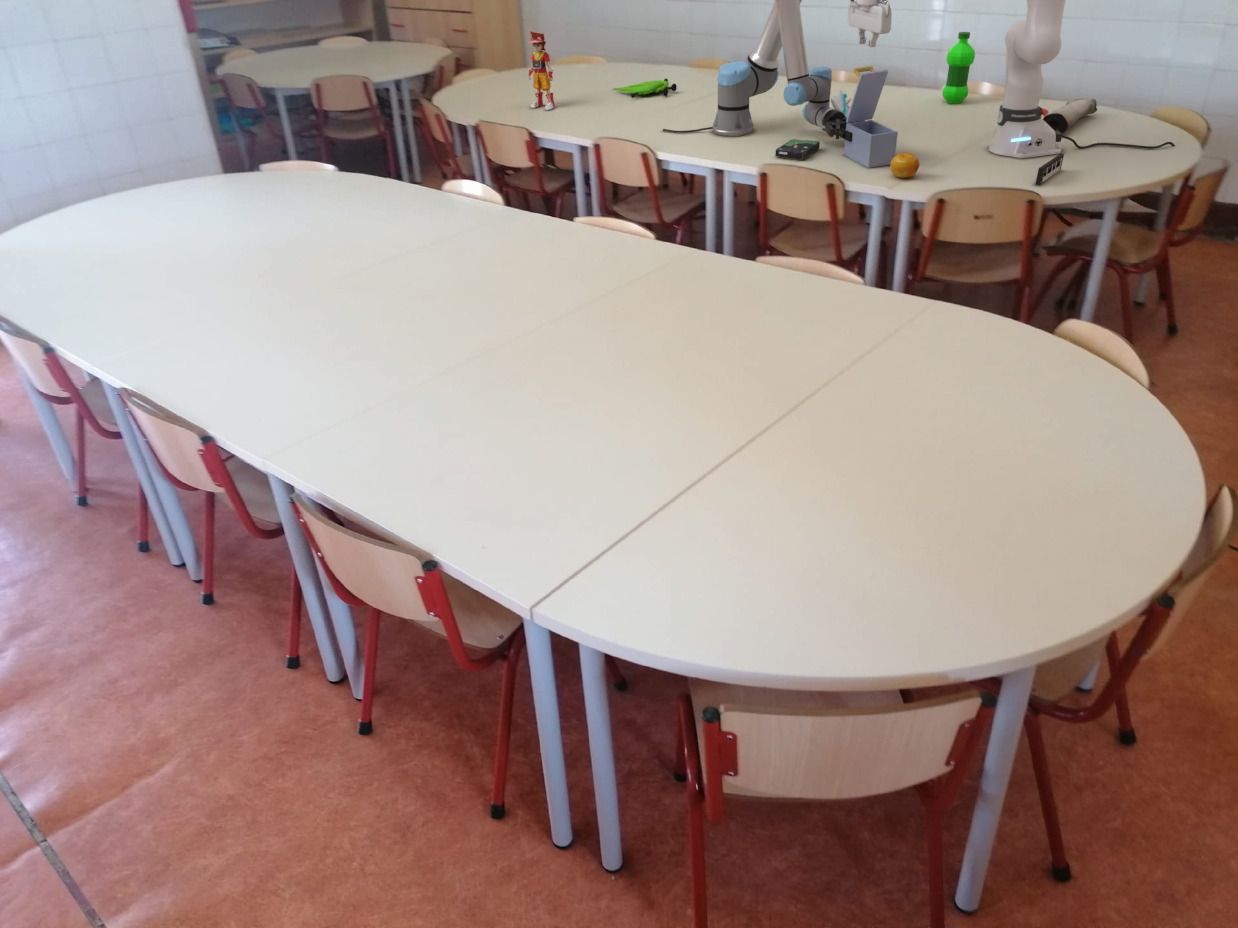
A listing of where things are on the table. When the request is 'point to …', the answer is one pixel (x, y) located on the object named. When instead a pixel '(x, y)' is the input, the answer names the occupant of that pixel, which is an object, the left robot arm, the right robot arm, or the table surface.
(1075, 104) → the rolled mat
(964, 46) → the plastic bottle
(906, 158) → the fruit
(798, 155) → the disk drive
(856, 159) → the chest
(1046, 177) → the midi keyboard
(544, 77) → the toy
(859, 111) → the lid
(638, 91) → the toy
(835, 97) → the anatomical model
